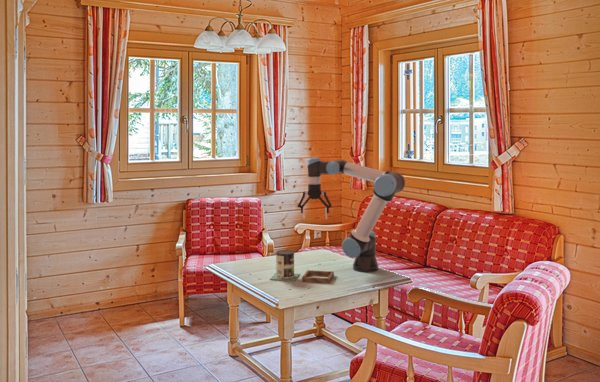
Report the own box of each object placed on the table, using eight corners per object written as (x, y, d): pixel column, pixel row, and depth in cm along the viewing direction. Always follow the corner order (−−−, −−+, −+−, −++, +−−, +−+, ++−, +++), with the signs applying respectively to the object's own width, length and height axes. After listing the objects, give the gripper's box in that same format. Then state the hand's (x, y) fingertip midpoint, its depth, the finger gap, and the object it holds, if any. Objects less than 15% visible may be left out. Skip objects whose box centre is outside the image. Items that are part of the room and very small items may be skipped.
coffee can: (295, 274, 339) (295, 250, 337) (292, 279, 329) (292, 254, 327) (278, 273, 341) (278, 249, 339) (274, 278, 331) (274, 253, 329)
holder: (333, 275, 338) (333, 271, 337) (329, 283, 323) (329, 278, 322) (307, 274, 341) (307, 270, 341) (302, 281, 326) (302, 277, 326)
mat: (299, 274, 340) (299, 273, 340) (294, 281, 327) (294, 280, 326) (276, 273, 343) (276, 272, 343) (270, 280, 329) (270, 278, 329)
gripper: (292, 184, 349) (293, 219, 351) (334, 184, 345) (335, 219, 348) (294, 183, 356) (295, 217, 358) (335, 182, 353) (336, 217, 355)
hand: (315, 218), depth 353 cm, fingers open, 13 cm apart
